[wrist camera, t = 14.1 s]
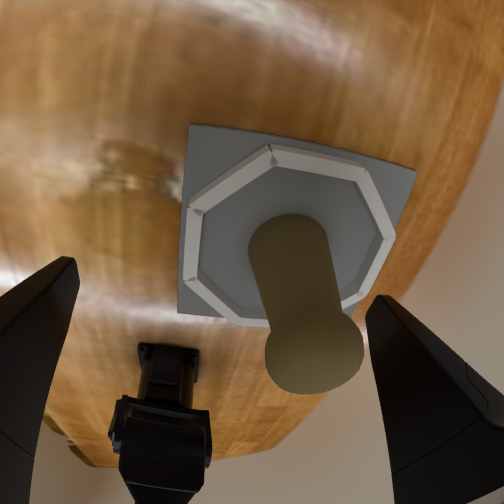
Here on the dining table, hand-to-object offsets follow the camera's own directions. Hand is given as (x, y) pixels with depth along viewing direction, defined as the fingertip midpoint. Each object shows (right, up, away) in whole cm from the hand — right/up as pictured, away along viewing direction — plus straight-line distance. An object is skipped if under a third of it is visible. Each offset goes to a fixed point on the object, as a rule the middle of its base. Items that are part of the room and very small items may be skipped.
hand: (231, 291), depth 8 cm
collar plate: (+3, +2, +14) cm, 15 cm away
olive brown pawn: (+3, +1, +14) cm, 15 cm away
